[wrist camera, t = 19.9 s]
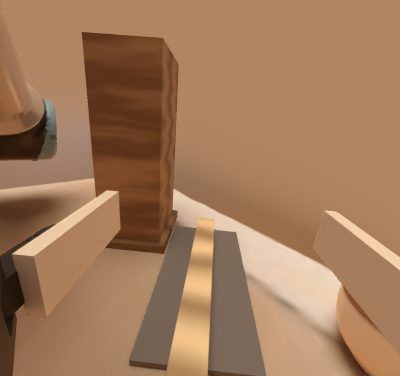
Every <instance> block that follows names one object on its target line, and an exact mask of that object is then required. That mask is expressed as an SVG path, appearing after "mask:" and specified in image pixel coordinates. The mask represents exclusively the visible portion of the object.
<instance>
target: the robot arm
mask: <svg viewBox="0 0 400 376" xmlns="http://www.w3.org/2000/svg"><path fill="white" fill-rule="evenodd" d="M56 132H57V128H56V114H55V107H54V104H53V103H52V102H51V101H48V100H45V99H42V98H41V96H40V95H39V93H38V92H37V91H36V90H35V89H34V88H33V87H32V86H31V85H29V84H28V83H26V82H25V79H24V76H23V73H22V70H21V67H20V63H19V60H18V57H17V54H16V51H15V48H14V45H13V42H12V39H11V36H10V33H9V30H8V27H7V24H6V20H5V18H4V14H3V11H2V8H1V5H0V161H8V160H32V161H37V160H43V159H51V158H53V157H54V156H55V155H56V152H57V137H56V135H57V134H56ZM119 230H120V210H119V191H108V190H107V191H105V192H104V193H102V194H101V195H99V196H98V197H96V198H95V199H93V200H92V201H90V202H89V203H87V204H86V205H84V206H83V207H81V208H80V209H78V210H77V211H75V212H74V213H72V214H71V215H69V216H68V217H66V218H65V219H63V220H62V221H60V222H59V223H57V224H54V225H51V226H48V227H46V228H43V229H42V230H40V231H39V232H37V233H35V234H34V235H33V236H31V237H29V238H28V239H26V240H25V241H23V242H21V243H20V244H18V245H17V246H15V247H14V248H12V249H10V250H9V251H7V252H6V253H4V254H3V255H1V256H0V376H13V362H14V349H15V336H16V322H17V318H16V315H15V312H16V311H17V310H18V309H19V308H20V307H21V306H22V305H23V304H24V305H25V309H26V313H27V315H29V316H38V317H48V315H49V314H50V313H51V312H52V311H53V309H54V308H55V307H56V306H57V305H58V303H59V302H60V301H61V300H62V299H63V297H64V296H65V295H66V294H67V293H68V291H69V290H70V289H71V288H72V287H73V285H74V284H75V283H76V282H77V281H78V279H79V278H80V277H81V276H82V275H83V274H84V272H85V271H86V270H87V269H88V268H89V266H90V265H91V264H92V263H93V262H94V260H95V259H96V258H97V257H98V256H99V254H100V253H101V252H102V251H103V250H104V248H105V247H106V246H107V245H108V244H109V242H110V241H111V240H112V239H113V238H114V236H115V235H116V234H117V233H118V232H119ZM313 248H314V249H315V251H316V252H317V253H318V255H319V256H320V257H321V258H322V260H323V261H324V262H325V263H326V265H327V266H328V267H329V268H330V270H331V271H332V272H333V273H334V275H335V276H336V277H337V278H338V279H339V281H340V282H341V283H342V284H343V286H344V287H345V288H346V289H347V291H348V292H349V293H350V294H351V296H352V297H353V298H354V299H355V301H356V302H357V303H358V304H359V306H360V307H361V308H362V309H363V311H364V312H365V313H366V314H367V315H368V317H369V318H370V319H371V320H372V322H373V323H374V324H375V325H376V327H377V328H378V329H379V330H380V332H381V333H382V334H383V335H384V337H385V338H386V339H387V340H388V342H389V343H390V344H391V345H392V346H393V348H394V349H395V350H396V351H397V353H398V354H399V355H400V257H398V256H397V255H396V254H394V253H393V252H392V251H390V250H389V249H387V248H386V247H384V246H383V245H382V244H381V243H379V242H378V241H376V240H375V239H374V238H372V237H371V236H369V235H368V234H366V233H365V232H364V231H363V230H361V229H360V228H358V227H357V226H355V225H354V224H353V223H351V222H350V221H349V220H347V219H346V218H344V217H343V216H342V215H340V214H339V213H338V212H335V211H324V212H323V216H322V219H321V222H320V226H319V229H318V233H317V236H316V239H315V243H314V246H313Z"/></svg>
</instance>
